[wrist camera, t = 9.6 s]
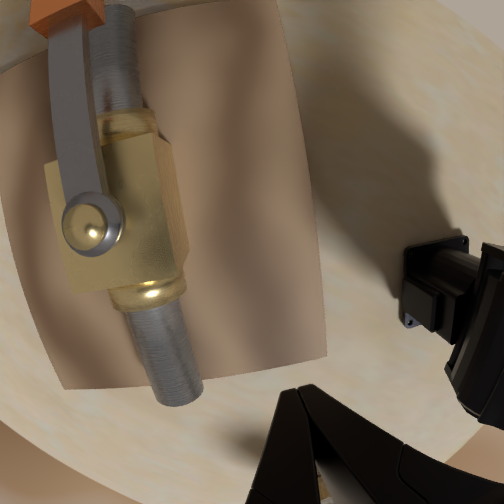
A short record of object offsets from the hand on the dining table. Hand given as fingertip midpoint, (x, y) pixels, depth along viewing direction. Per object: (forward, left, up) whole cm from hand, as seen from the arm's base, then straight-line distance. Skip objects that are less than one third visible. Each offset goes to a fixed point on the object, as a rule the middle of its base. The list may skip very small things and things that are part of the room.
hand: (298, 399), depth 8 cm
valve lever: (+6, -11, -6) cm, 14 cm away
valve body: (+6, -5, -13) cm, 15 cm away
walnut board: (+6, -5, -13) cm, 15 cm away
